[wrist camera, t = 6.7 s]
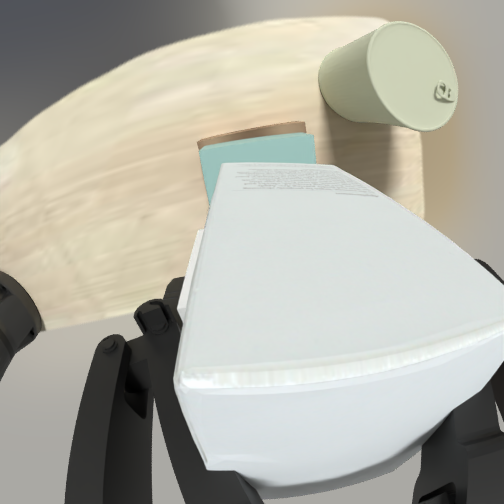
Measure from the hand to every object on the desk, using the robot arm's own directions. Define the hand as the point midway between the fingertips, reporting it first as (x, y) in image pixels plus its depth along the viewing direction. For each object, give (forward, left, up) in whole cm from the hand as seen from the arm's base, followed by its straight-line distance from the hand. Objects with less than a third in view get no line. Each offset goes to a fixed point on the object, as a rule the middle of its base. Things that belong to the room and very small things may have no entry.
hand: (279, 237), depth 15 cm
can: (+13, +9, -16) cm, 22 cm away
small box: (0, 0, -1) cm, 1 cm away
